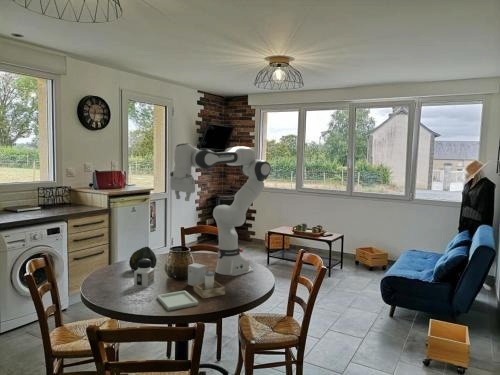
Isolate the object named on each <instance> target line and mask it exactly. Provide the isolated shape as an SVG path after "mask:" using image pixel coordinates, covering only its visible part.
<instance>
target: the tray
mask: <svg viewBox="0 0 500 375" xmlns="http://www.w3.org/2000/svg"><path fill="white" fill-rule="evenodd" d="M156 297H157V300H158V301H159V302H160V303H161V304H162V306H163V307H165V309H166V310H167V311H168V312H171V311H174V310H175V311H177V310H180V309H181V310H182V309H185V308H191V307H196V306H199V300H197V299H196V298H195V297H194V296H192V294H191V293H189V292H188V291H186V290H180V291H173V292H169V293H168V292H167V293H163V294H158V295H157V296H156Z"/></svg>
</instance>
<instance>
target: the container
mask: <svg viewBox="0 0 500 375" xmlns="http://www.w3.org/2000/svg"><path fill="white" fill-rule="evenodd" d="M133 271H134V270H133ZM154 283H155V267H154V268H151V260H149V259H141V260H139V261H138V270H136V271H134V272H133V286H135V287H142V288H148V287H150V286H151V285H153V284H154Z"/></svg>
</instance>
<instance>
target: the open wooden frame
mask: <svg viewBox="0 0 500 375" xmlns="http://www.w3.org/2000/svg"><path fill="white" fill-rule="evenodd" d="M193 292H195V293H196V294H197V295H199V297H201V298H202V299H207V298H212V297H217V296H223V295H226V287H225V286H223V284H221V283H219V282H218V281H216V280H215V279H214V289H210V290H205V282H202V283H196V284H194V286H193Z"/></svg>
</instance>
